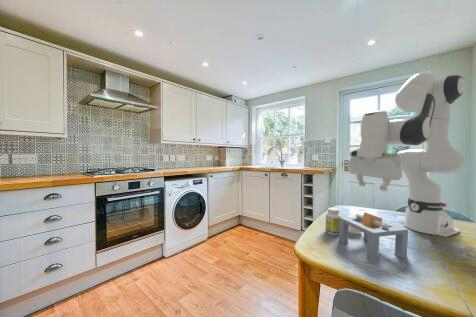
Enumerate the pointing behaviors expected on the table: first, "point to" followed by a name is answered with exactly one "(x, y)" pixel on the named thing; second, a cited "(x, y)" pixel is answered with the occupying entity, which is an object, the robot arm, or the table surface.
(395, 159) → the robot arm
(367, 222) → the tall tan box
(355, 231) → the shot glass
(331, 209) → the pill bottle
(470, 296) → the table surface
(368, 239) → the square frame with slider
